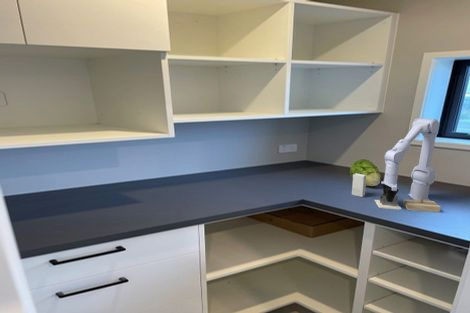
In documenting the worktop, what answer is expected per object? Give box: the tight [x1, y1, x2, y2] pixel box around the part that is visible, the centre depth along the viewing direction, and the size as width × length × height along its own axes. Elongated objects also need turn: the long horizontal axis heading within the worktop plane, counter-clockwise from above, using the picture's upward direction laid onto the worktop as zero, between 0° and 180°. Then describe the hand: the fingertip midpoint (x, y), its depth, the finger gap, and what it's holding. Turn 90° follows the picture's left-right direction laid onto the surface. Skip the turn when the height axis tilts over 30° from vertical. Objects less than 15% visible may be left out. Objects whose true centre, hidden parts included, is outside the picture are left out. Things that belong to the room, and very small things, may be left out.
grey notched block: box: [379, 192, 399, 206], centre depth 147 cm, size 4×7×5 cm, turn 78°
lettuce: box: [349, 158, 381, 187], centre depth 179 cm, size 16×21×15 cm
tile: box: [374, 199, 402, 210], centre depth 147 cm, size 10×10×1 cm
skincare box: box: [351, 173, 367, 198], centre depth 160 cm, size 6×4×12 cm
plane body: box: [402, 198, 441, 213], centre depth 143 cm, size 7×14×6 cm, turn 78°
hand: (388, 199), depth 147 cm, fingers open, 5 cm apart
